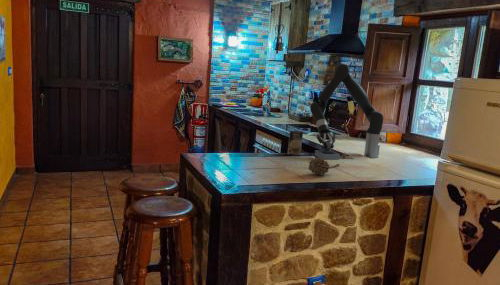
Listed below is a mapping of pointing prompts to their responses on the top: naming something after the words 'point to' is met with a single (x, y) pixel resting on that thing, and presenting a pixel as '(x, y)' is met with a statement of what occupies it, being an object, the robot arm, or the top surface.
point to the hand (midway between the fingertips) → (329, 147)
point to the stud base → (345, 156)
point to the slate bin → (326, 155)
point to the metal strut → (328, 148)
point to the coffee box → (295, 142)
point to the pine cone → (320, 166)
